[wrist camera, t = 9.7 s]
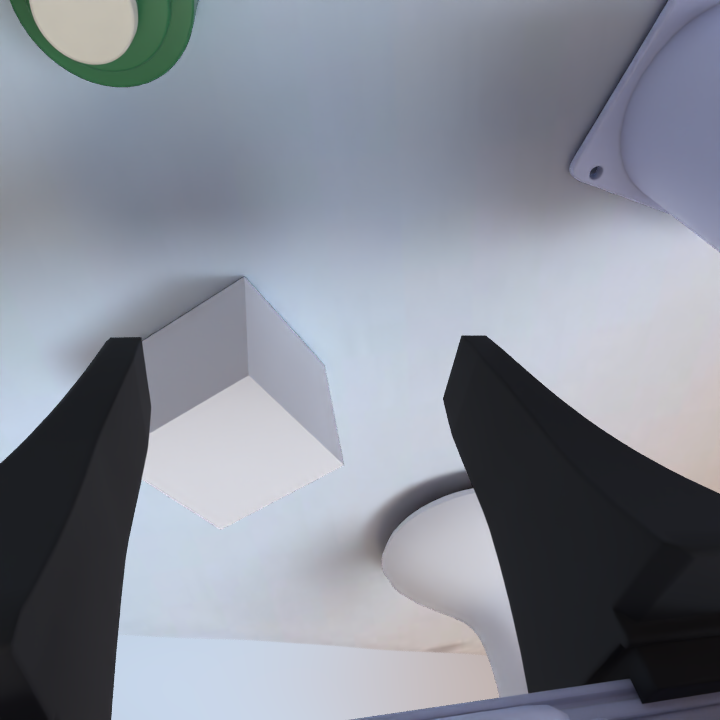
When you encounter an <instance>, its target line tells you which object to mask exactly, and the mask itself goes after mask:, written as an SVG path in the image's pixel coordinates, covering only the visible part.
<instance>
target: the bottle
mask: <svg viewBox="0 0 720 720" xmlns="http://www.w3.org/2000/svg"><path fill="white" fill-rule="evenodd" d="M198 1H199V0H10V2H11V4H12V7H13V9H14V11H15V13H16V15H17V17H18V19H19V21H20V23H21V24H22V26H23V27H24V29H25V30H26V32H27V33H28V35H29V36H30V37H31V38H32V40H33V41H34V42H35V43H36V44H37V46H38V47H39V48H40V49H41V50H42V51H43V52H44V53H45V54H46V55H47V56H48V57H50V58H51V59H52V60H53V61H55V62H56V63H57V64H58V65H60V66H61V67H63V68H64V69H66V70H67V71H69V72H70V73H72V74H74V75H76V76H78V77H80V78H82V79H85V80H87V81H90V82H92V83H96V84H100V85H104V86H110V87H133V86H139V85H142V84H146V83H149V82H151V81H153V80H155V79H158V78H159V77H161V76H162V75H164V74H165V73H166V72H168V71H169V70H170V69H171V68H172V67H173V66H174V65H175V64H176V62H177V61H178V60H179V59H180V57H181V56H182V54H183V52H184V51H185V49H186V47H187V44H188V42H189V39H190V36H191V32H192V28H193V24H194V19H195V15H196V10H197V5H198Z"/></svg>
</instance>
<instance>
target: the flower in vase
mask: <svg viewBox="0 0 720 720" xmlns="http://www.w3.org/2000/svg"><path fill="white" fill-rule="evenodd" d="M382 569H383V572H384V574H385V576H386V577H387V579H388V580H389V582H390V583H391V584H392V586H393V587H394V589H395V590H397V591H398V592H399V593H400V594H402V595H404V596H405V597H407V598H409V599H410V600H412V601H414V602H415V603H417V604H419V605H422V606H424V607H427V608H429V609H432V610H434V611H436V612H439V613H442V614H445V615H447V616H450V617H453V618H455V619H457V620H460V621H462V622H464V623H465V624H467V625H468V626H469V627H471V628H472V629H473V630H474V632H475V633H476V634H477V635H478V637H479V639H480V640H481V642H482V644H483V646H484V648H485V651H486V654H487V656H488V659H489V662H490V664H491V667H492V670H493V674H494V677H495V681H496V684H497V688H498V692H499V697H500V698H501V697H508V696H515V695H521V694H528V689H527V684H526V679H525V674H524V669H523V663H522V658H521V653H520V648H519V644H518V639H517V635H516V630H515V626H514V621H513V617H512V613H511V608H510V604H509V600H508V596H507V592H506V588H505V584H504V580H503V576H502V573H501V569H500V565H499V561H498V558H497V554H496V551H495V547H494V544H493V540H492V537H491V533H490V530H489V527H488V524H487V521H486V519H485V516H484V513H483V511H482V508H481V506H480V503H479V501H478V498H477V496H476V493H475V491H474V489H473V488H472V489H467V490H463V491H459V492H455V493H452V494H450V495H447V496H444V497H441V498H439V499H437V500H435V501H433V502H431V503H429V504H427V505H425V506H423V507H421V508H420V509H418V510H417V511H415V512H414V513H412V514H411V515H410V516H408V517H407V518H406V519H405V520H404V521H403V522H402V523H401V524H400V525H399V526H398V527H397V528H396V529H395V530H394V532H393V533H392V535H391V536H390V538H389V540H388V542H387V545H386V547H385V550H384V552H383V555H382Z"/></svg>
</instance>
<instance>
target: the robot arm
mask: <svg viewBox="0 0 720 720" xmlns="http://www.w3.org/2000/svg"><path fill="white" fill-rule="evenodd" d="M596 166H598V169H597V171H596V172H595V173H594V174H592V175H590V172H591V170H592V169H593V168H594V167H596ZM569 171H570V173H571V175H572V176H573V177H574V178H575V179H577V180H578V181H581V182H583V183H586V184H589V185H592V186H594V187H597V188H600V189H603V190H605V191H608V192H611V193H613V194H616V195H619V196H622V197H624V198H627V199H630V200H632V201H635V202H638V203H641V204H643V205H646V206H649V207H652V208H654V209H657V210H660V211H662V212H665V213H668V214H671V215H672V216H674V217H675V218H676V219H678V220H679V221H680V222H681V223H683V224H684V225H685V226H687V227H688V228H689V229H690V230H692V231H693V232H694V233H695V234H697V235H698V236H699V237H701V238H702V239H703V240H704V241H706V242H707V243H708V244H710V245H711V246H712V247H713V248H715V249H716V250H717V251H718V252H720V0H668V2H667V4H666V5H665V7H664V9H663V10H662V12H661V14H660V15H659V17H658V19H657V20H656V22H655V24H654V25H653V27H652V29H651V30H650V32H649V34H648V35H647V37H646V39H645V40H644V42H643V44H642V45H641V47H640V49H639V50H638V52H637V54H636V55H635V57H634V59H633V60H632V62H631V64H630V65H629V67H628V69H627V70H626V72H625V74H624V75H623V77H622V79H621V80H620V82H619V84H618V85H617V87H616V89H615V90H614V92H613V94H612V95H611V97H610V99H609V100H608V102H607V104H606V105H605V107H604V109H603V110H602V112H601V114H600V115H599V117H598V118H597V120H596V122H595V123H594V125H593V127H592V128H591V130H590V132H589V133H588V135H587V137H586V138H585V140H584V142H583V143H582V145H581V147H580V148H579V150H578V152H577V153H576V155H575V157H574V158H573V160H572V162H571V164H570V170H569ZM443 400H444V405H445V409H446V413H447V418H448V422H449V425H450V429H451V433H452V436H453V439H454V441H455V444H456V447H457V449H458V452H459V454H460V457H461V459H462V462H463V464H464V467H465V469H466V471H467V474H468V476H469V479H470V481H471V484H472V486H473V489H474V491H475V493H476V496H477V498H478V501H479V503H480V506H481V508H482V511H483V513H484V516H485V519H486V521H487V524H488V527H489V530H490V533H491V537H492V540H493V544H494V547H495V551H496V554H497V558H498V561H499V565H500V569H501V573H502V576H503V580H504V584H505V588H506V592H507V596H508V600H509V604H510V608H511V613H512V617H513V621H514V626H515V630H516V635H517V639H518V644H519V648H520V653H521V658H522V663H523V669H524V674H525V679H526V684H527V689H528V694H521V695H515V696H508V697H501V698H494V699H487V700H481V701H474V702H467V703H461V704H453V705H446V706H440V707H433V708H426V709H419V710H412V711H406V712H399V713H392V714H385V715H378V716H372V717H365V718H358V719H351V720H720V494H719V493H717V492H715V491H713V490H710V489H708V488H706V487H704V486H702V485H700V484H698V483H696V482H693V481H691V480H689V479H687V478H685V477H683V476H681V475H679V474H677V473H675V472H673V471H671V470H669V469H667V468H665V467H664V466H662V465H660V464H658V463H656V462H655V461H653V460H651V459H649V458H647V457H646V456H644V455H642V454H640V453H638V452H637V451H635V450H633V449H632V448H630V447H628V446H627V445H625V444H623V443H622V442H620V441H619V440H617V439H616V438H614V437H613V436H611V435H610V434H608V433H607V432H605V431H604V430H602V429H600V428H599V427H597V426H596V425H595V424H593V423H592V422H590V421H589V420H588V419H586V418H585V417H583V416H582V415H581V414H579V413H578V412H577V411H576V410H574V409H573V408H572V407H570V406H569V405H568V404H566V403H565V402H564V401H562V400H561V399H560V398H559V397H557V396H556V395H555V394H554V393H553V392H551V391H550V390H549V389H548V388H546V387H545V386H544V385H543V384H542V383H541V382H539V381H538V380H537V379H536V378H535V377H533V376H532V375H531V374H530V373H529V372H528V371H527V370H525V369H524V368H523V367H522V366H521V365H520V364H519V363H517V362H516V361H515V360H514V359H513V358H512V357H511V356H509V355H508V354H507V353H506V352H505V351H504V350H503V349H501V348H500V347H499V346H498V345H497V344H496V343H494V342H493V341H492V340H491V339H489V338H488V337H487V336H461V339H460V343H459V346H458V350H457V353H456V356H455V360H454V363H453V367H452V370H451V373H450V377H449V380H448V384H447V387H446V390H445V394H444V397H443ZM150 419H151V401H150V394H149V387H148V380H147V373H146V366H145V359H144V352H143V345H142V339H141V337H124V338H110V339H109V340H107V341H106V342H105V344H104V345H103V347H102V348H101V350H100V351H99V352H98V354H97V355H96V357H95V358H94V359H93V361H92V362H91V363H90V365H89V366H88V368H87V369H86V370H85V371H84V373H83V374H82V375H81V377H80V378H79V379H78V381H77V382H76V383H75V384H74V385H73V387H72V388H71V389H70V390H69V392H68V393H67V394H66V395H65V396H64V398H63V399H62V400H61V401H60V403H59V404H58V405H57V406H56V407H55V408H54V409H53V411H52V412H51V413H50V414H49V415H48V416H47V417H46V418H45V419H44V420H43V421H42V422H41V424H40V425H39V426H38V427H37V428H36V429H35V430H34V431H33V432H32V433H31V434H30V435H29V436H28V437H27V438H26V440H24V441H23V442H22V443H21V444H20V445H19V446H18V447H17V448H16V449H15V450H14V451H13V452H12V453H11V454H10V455H9V456H8V457H7V458H6V459H5V460H4V461H2V462H1V463H0V720H111V714H112V713H111V712H112V699H113V687H114V674H115V662H116V661H115V660H116V649H117V638H118V628H119V617H120V606H121V596H122V587H123V577H124V568H125V559H126V553H127V547H128V541H129V536H130V531H131V526H132V522H133V517H134V512H135V508H136V503H137V498H138V494H139V489H140V485H141V480H142V475H143V470H144V466H145V461H146V456H147V451H148V443H149V432H150Z"/></svg>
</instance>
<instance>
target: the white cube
mask: <svg viewBox="0 0 720 720" xmlns="http://www.w3.org/2000/svg"><path fill="white" fill-rule="evenodd" d="M142 345H143V352H144V359H145V366H146V373H147V380H148V387H149V394H150V401H151V419H150V432H149V443H148V451H147V456H146V461H145V466H144V470H143V475H142V480H143V481H145V482H146V483H148V484H150V485H151V486H153V487H154V488H156V489H157V490H159V491H160V492H162V493H164V494H165V495H167V496H168V497H170V498H171V499H173V500H175V501H176V502H178V503H179V504H181V505H182V506H184V507H185V508H187V509H189V510H190V511H192V512H193V513H195V514H196V515H198V516H200V517H201V518H203V519H204V520H206V521H207V522H209V523H210V524H212V525H214V526H215V527H217V528H218V529H220V530H222V529H224V528H226V527H228V526H229V525H231V524H233V523H235V522H237V521H239V520H241V519H243V518H245V517H247V516H249V515H251V514H252V513H254V512H256V511H258V510H260V509H262V508H264V507H266V506H268V505H270V504H272V503H274V502H275V501H277V500H279V499H281V498H283V497H285V496H287V495H289V494H291V493H293V492H295V491H296V490H298V489H300V488H302V487H304V486H306V485H308V484H310V483H312V482H314V481H316V480H318V479H319V478H321V477H323V476H325V475H327V474H329V473H331V472H333V471H335V470H337V469H339V468H340V467H342V466H344V461H343V456H342V451H341V446H340V441H339V436H338V431H337V426H336V421H335V416H334V410H333V405H332V400H331V395H330V390H329V385H328V380H327V375H326V370H325V365H324V364H323V363H322V362H321V361H320V360H319V359H318V357H317V356H316V355H315V354H314V353H313V352H312V351H311V350H310V349H309V347H308V346H307V345H306V344H305V343H304V342H303V341H302V340H301V339H300V338H299V336H298V335H297V334H296V333H295V332H294V331H293V330H292V329H291V328H290V326H289V325H288V324H287V323H286V322H285V321H284V320H283V319H282V318H281V316H280V315H279V314H278V313H277V312H276V311H275V310H274V309H273V308H272V306H271V305H270V304H269V303H268V302H267V301H266V300H265V299H264V298H263V296H262V295H261V294H260V293H259V292H258V291H257V290H256V289H255V288H254V286H253V285H252V284H251V283H250V282H249V281H248V280H247V279H246V278H245V276H244V277H243V278H241V279H240V280H238V281H237V282H235V283H233V284H232V285H230V286H229V287H227V288H225V289H224V290H222V291H221V292H219V293H218V294H216V295H214V296H213V297H211V298H210V299H208V300H207V301H205V302H203V303H202V304H200V305H199V306H197V307H195V308H194V309H192V310H191V311H189V312H188V313H186V314H184V315H183V316H181V317H180V318H178V319H177V320H175V321H173V322H172V323H170V324H169V325H167V326H165V327H164V328H162V329H161V330H159V331H158V332H156V333H154V334H153V335H151V336H150V337H148V338H147V339H145V340H143V341H142Z"/></svg>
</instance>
